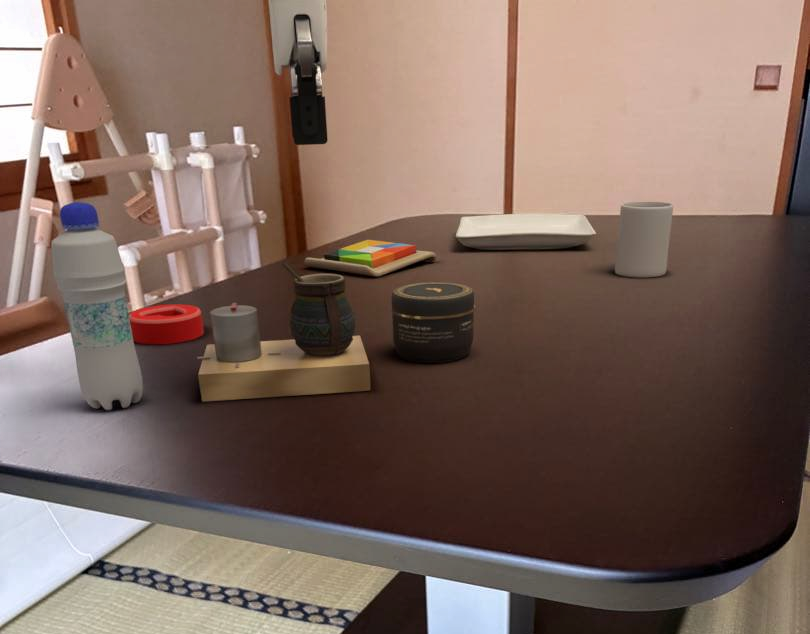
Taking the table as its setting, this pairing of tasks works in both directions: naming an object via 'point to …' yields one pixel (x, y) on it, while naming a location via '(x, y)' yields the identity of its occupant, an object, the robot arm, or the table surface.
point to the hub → (236, 333)
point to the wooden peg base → (284, 372)
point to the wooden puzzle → (371, 258)
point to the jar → (433, 321)
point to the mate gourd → (321, 314)
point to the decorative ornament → (166, 324)
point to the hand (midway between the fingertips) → (309, 141)
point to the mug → (643, 239)
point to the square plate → (524, 231)
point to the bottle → (96, 308)
